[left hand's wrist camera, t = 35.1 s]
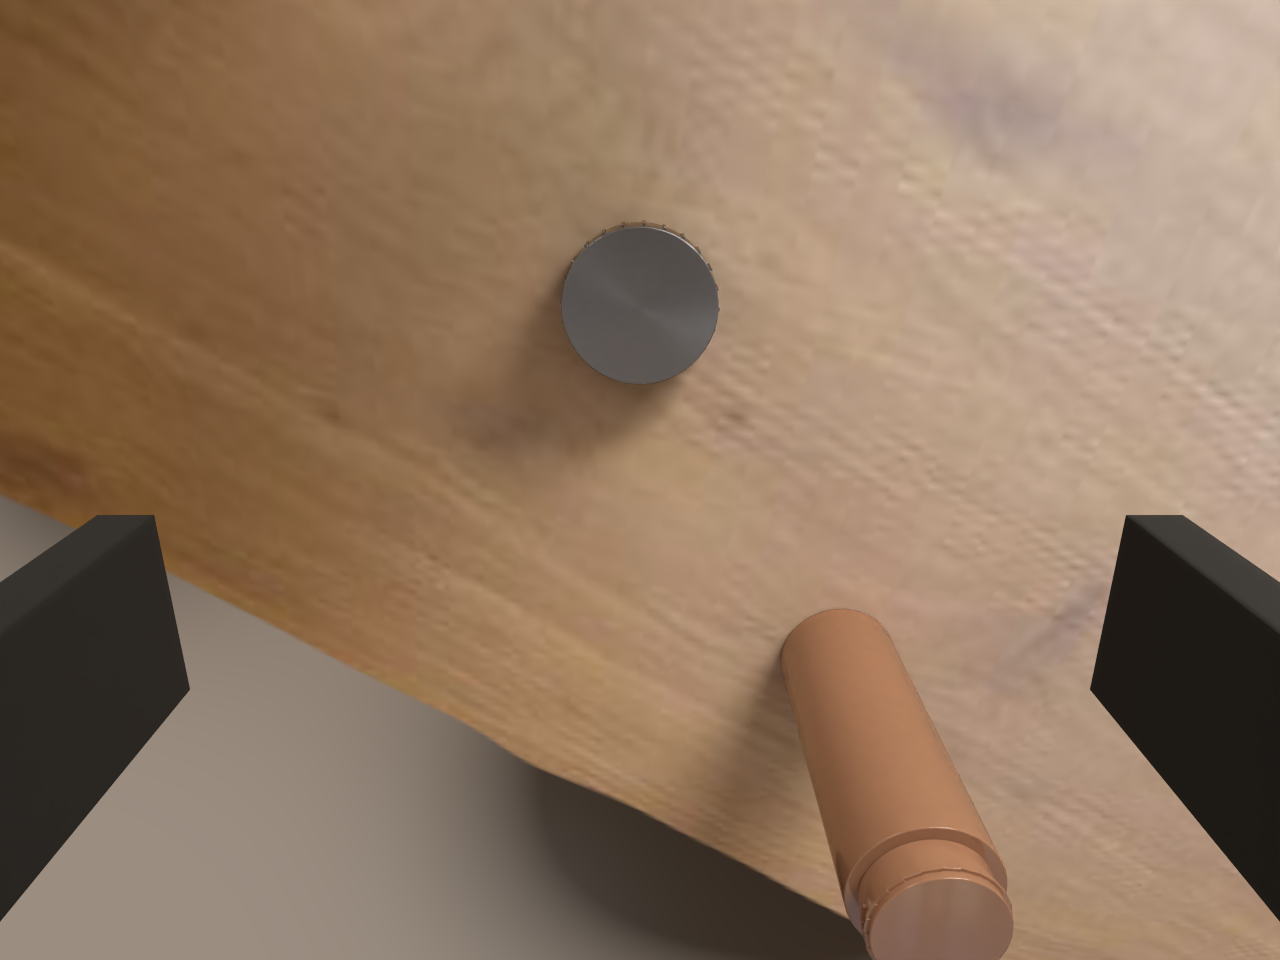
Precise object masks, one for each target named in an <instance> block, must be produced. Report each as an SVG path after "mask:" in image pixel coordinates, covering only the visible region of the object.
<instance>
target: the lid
mask: <svg viewBox="0 0 1280 960" xmlns="http://www.w3.org/2000/svg"><path fill="white" fill-rule="evenodd" d="M700 253H701V251H700V249H699V248H698V246H697V247H695V246H694V245H693V244H692V243H691V242H690V241H689V240H687V239H686V238H685V236H684V234H683V233H681V234H679V233H677V232H675V231H674V230H671V229H669V228H667V227H666V225H665V224H663V225H662V226H661V225H657V224H652V223H645V221H644V220H643V221H642V223H628V224H625V222H622V225H619V226H616V227H613V228H611V229H608V230H605V229H604V230H603V231H602V233H601V234H599V235H598V236H596V237H595V238H594V239H593V240H591V241H590V242H589V241H587V242H586V244H585V245H584V248H583V249H582V250H581V252H580V253H579V255H578V256H577V257H574V258H573V260H572V262H571V263H572V264H573V265H572V267H571V268H570V270H569V272H568V275H566V276H565V278H564V280H563V283H564V287H563V292H562V298H561V300H560V303H561V311H562V319H563V321H562V323H563V324H564V328H565V331H566V334H567V336H568V338H569V341H570V343H571V344H572V346H573V348H574V349H575V351H576V352H577V353H578V355H579V356H580V357H581V358H582V359H583V360H584V361H585V362H586V363H587V364H588V365H589V366H590V367H591V368H593V369H594V370H596V371H597V372H598V373H600V374H602V375H604V376H606V377H608V378H611V379H613V380H616V381H619V382H624V383H629V384H650V383H657V382H660V381H664V380H667V379H669V378H672V377H674V376H676V375H678V374H679V373H681V372H683V371H684V370H686V369H687V368H688V367H689V366H691V365H692V364H693V363H694V362H695V361H696V360H697V359H698V358H699V357H700V355H701V354H702V353H703V352H704V350H705V349H706V347H707V345H708V344H709V342H710V340H711V338H712V335H713V333H714V331H715V326H716V323H717V317H718V311H719V307H718V293H717V291H718V287H717V285H716V283H715V281H714V278H713V276H712V273H711V271H712V268H711V266H710V264H707V263H706V262H705V260H704V258H703V256H702V255H701V254H700Z"/></svg>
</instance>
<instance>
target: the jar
mask: <svg viewBox="0 0 1280 960" xmlns="http://www.w3.org/2000/svg"><path fill="white" fill-rule="evenodd" d="M781 669H782V673H783V676H784V680H785V684H786V688H787V691H788V695H789V699H790V703H791V706H792V710H793V714H794V718H795V721H796V725H797V729H798V733H799V736H800V740H801V744H802V748H803V751H804V755H805V759H806V762H807V766H808V770H809V774H810V777H811V781H812V785H813V789H814V792H815V796H816V800H817V804H818V807H819V811H820V815H821V819H822V822H823V826H824V830H825V834H826V837H827V841H828V845H829V849H830V852H831V856H832V860H833V864H834V867H835V871H836V875H837V879H838V882H839V886H840V890H841V894H842V897H843V901H844V905H845V908H846V912H847V914H848V917H849V919H850V921H851V922H852V923H853V925H854V926H855V928H856V929H857V930H858V931H859V932H860V933H861V934H862V935H863V937H864V939H865V944H866V948H867V951H868V953H869V954H870V956H871V958H872V959H873V960H999V959H1000V958H1001V957H1002V956H1003V954H1004V953H1005V951H1006V950H1007V948H1008V946H1009V944H1010V942H1011V939H1012V935H1013V914H1012V904H1011V902H1010V900H1009V898H1008V896H1007V894H1006V891H1007V874H1006V869H1005V867H1004V864H1003V862H1002V860H1001V858H1000V856H999V854H998V852H997V850H996V848H995V846H994V844H993V842H992V840H991V838H990V836H989V834H988V832H987V830H986V828H985V826H984V824H983V822H982V820H981V818H980V816H979V814H978V812H977V810H976V808H975V806H974V804H973V802H972V800H971V798H970V796H969V794H968V792H967V790H966V788H965V786H964V784H963V782H962V780H961V778H960V776H959V774H958V772H957V770H956V768H955V766H954V764H953V762H952V760H951V758H950V756H949V754H948V752H947V750H946V748H945V746H944V744H943V742H942V740H941V738H940V736H939V734H938V732H937V730H936V728H935V726H934V724H933V722H932V720H931V718H930V716H929V714H928V712H927V710H926V708H925V706H924V704H923V702H922V700H921V698H920V696H919V694H918V692H917V690H916V688H915V686H914V684H913V682H912V680H911V678H910V676H909V674H908V672H907V670H906V668H905V666H904V664H903V662H902V660H901V658H900V656H899V654H898V652H897V650H896V648H895V646H894V644H893V642H892V640H891V638H890V636H889V635H888V633H887V631H886V630H885V629H884V627H883V626H882V625H881V624H880V623H879V622H878V621H876V620H875V619H874V618H872V617H870V616H868V615H866V614H864V613H861V612H859V611H854V610H848V609H835V610H828V611H824V612H821V613H818V614H815V615H813V616H811V617H809V618H807V619H806V620H804V621H803V622H802V623H800V624H799V625H798V626H797V627H796V628H795V629H794V630H793V631H792V632H791V634H790V635H789V637H788V638H787V640H786V642H785V644H784V647H783V650H782V655H781Z"/></svg>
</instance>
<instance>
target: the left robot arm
mask: <svg viewBox="0 0 1280 960" xmlns="http://www.w3.org/2000/svg"><path fill="white" fill-rule="evenodd" d="M189 690H190V687H189V683H188V678H187V673H186V668H185V663H184V659H183V654H182V649H181V644H180V639H179V634H178V629H177V625H176V620H175V615H174V610H173V605H172V600H171V595H170V590H169V586H168V581H167V576H166V571H165V566H164V561H163V557H162V552H161V547H160V542H159V537H158V532H157V528H156V523H155V518H154V515H97V516H95V517H94V518H93V519H91V520H90V521H88V522H87V523H85V524H84V525H82V526H81V527H80V528H78V529H77V530H75V531H74V532H72V533H71V534H69V535H68V536H67V537H65V538H64V539H62V540H61V541H59V542H58V543H56V544H55V545H54V546H52V547H51V548H49V549H48V550H46V551H45V552H43V553H42V554H41V555H39V556H38V557H36V558H35V559H33V560H32V561H31V562H29V563H28V564H26V565H25V566H23V567H22V568H20V569H19V570H18V571H16V572H15V573H13V574H12V575H10V576H9V577H7V578H6V579H4V580H3V581H2V582H0V921H1V920H2V919H3V917H4V916H5V915H6V914H7V912H8V911H9V910H10V909H11V908H12V906H13V905H14V904H15V903H16V901H17V900H18V899H19V898H20V897H21V895H22V894H23V893H24V892H25V890H26V889H27V888H28V887H29V886H30V884H31V883H32V882H33V881H34V879H35V878H36V877H37V876H38V875H39V873H40V872H41V871H42V870H43V868H44V867H45V866H46V865H47V864H48V862H49V861H50V860H51V859H52V857H53V856H54V855H55V854H56V853H57V851H58V850H59V849H60V848H61V847H62V845H63V844H64V843H65V842H66V840H67V839H68V838H69V837H70V835H71V834H72V833H73V832H74V831H75V829H76V828H77V827H78V826H79V825H80V823H81V822H82V821H83V820H84V818H85V817H86V816H87V815H88V813H89V812H90V811H91V810H92V809H93V807H94V806H95V805H96V804H97V803H98V801H99V800H100V799H101V798H102V796H103V795H104V794H105V793H106V792H107V790H108V789H109V788H110V787H111V785H112V784H113V783H114V782H115V780H116V779H117V778H118V777H119V776H120V774H121V773H122V772H123V771H124V770H125V768H126V767H127V766H128V765H129V763H130V762H131V761H132V760H133V759H134V757H135V756H136V755H137V754H138V752H139V751H140V750H141V749H142V747H143V746H144V745H145V744H146V743H147V741H148V740H149V739H150V738H151V737H152V735H153V734H154V733H155V732H156V730H157V729H158V728H159V727H160V725H161V724H162V723H163V722H164V721H165V719H166V718H167V717H168V716H169V714H170V713H171V712H172V711H173V710H174V708H175V707H176V706H177V705H178V703H179V702H180V701H181V700H182V699H183V697H184V696H185V695H186V694H187V692H188V691H189ZM1090 690H1091V691H1092V692H1093V694H1094V695H1095V696H1096V697H1097V699H1098V700H1099V701H1100V702H1101V703H1102V705H1103V706H1104V707H1105V708H1106V710H1107V711H1108V712H1109V713H1110V714H1111V716H1112V717H1113V718H1114V719H1115V721H1116V722H1117V723H1118V724H1119V725H1120V727H1121V728H1122V729H1123V730H1124V732H1125V733H1126V734H1127V735H1128V737H1129V738H1130V739H1131V740H1132V741H1133V743H1134V744H1135V745H1136V746H1137V748H1138V749H1139V750H1140V751H1141V752H1142V754H1143V755H1144V756H1145V757H1146V759H1147V760H1148V761H1149V762H1150V763H1151V765H1152V766H1153V767H1154V768H1155V770H1156V771H1157V772H1158V773H1159V774H1160V776H1161V777H1162V778H1163V779H1164V781H1165V782H1166V783H1167V784H1168V785H1169V787H1170V788H1171V789H1172V790H1173V792H1174V793H1175V794H1176V795H1177V796H1178V798H1179V799H1180V800H1181V801H1182V803H1183V804H1184V805H1185V806H1186V807H1187V809H1188V810H1189V811H1190V812H1191V814H1192V815H1193V816H1194V817H1195V818H1196V820H1197V821H1198V822H1199V823H1200V825H1201V826H1202V827H1203V828H1204V829H1205V831H1206V832H1207V833H1208V834H1209V836H1210V837H1211V838H1212V839H1213V840H1214V842H1215V843H1216V844H1217V845H1218V847H1219V848H1220V849H1221V850H1222V851H1223V853H1224V854H1225V855H1226V856H1227V858H1228V859H1229V860H1230V861H1231V862H1232V864H1233V865H1234V866H1235V867H1236V869H1237V870H1238V871H1239V872H1240V873H1241V875H1242V876H1243V877H1244V878H1245V880H1246V881H1247V882H1248V883H1249V884H1250V886H1251V887H1252V888H1253V889H1254V891H1255V892H1256V893H1257V894H1258V895H1259V897H1260V898H1261V899H1262V900H1263V902H1264V903H1265V904H1266V905H1267V906H1268V908H1269V909H1270V910H1271V911H1272V913H1273V914H1274V915H1275V916H1276V917H1277V919H1278V920H1279V921H1280V582H1278V581H1277V580H1276V579H1274V578H1273V577H1271V576H1270V575H1268V574H1267V573H1265V572H1264V571H1263V570H1261V569H1260V568H1258V567H1257V566H1255V565H1254V564H1252V563H1251V562H1250V561H1248V560H1247V559H1245V558H1244V557H1242V556H1241V555H1239V554H1238V553H1237V552H1235V551H1234V550H1232V549H1231V548H1229V547H1228V546H1226V545H1225V544H1224V543H1222V542H1221V541H1219V540H1218V539H1216V538H1215V537H1213V536H1212V535H1211V534H1209V533H1208V532H1206V531H1205V530H1203V529H1202V528H1200V527H1199V526H1198V525H1196V524H1195V523H1193V522H1192V521H1190V520H1189V519H1187V518H1186V517H1185V516H1183V515H1126V518H1125V523H1124V528H1123V532H1122V537H1121V542H1120V547H1119V552H1118V557H1117V561H1116V566H1115V571H1114V576H1113V581H1112V586H1111V590H1110V595H1109V600H1108V605H1107V610H1106V615H1105V620H1104V624H1103V629H1102V634H1101V639H1100V644H1099V649H1098V653H1097V658H1096V663H1095V668H1094V673H1093V678H1092V683H1091V687H1090Z"/></svg>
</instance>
